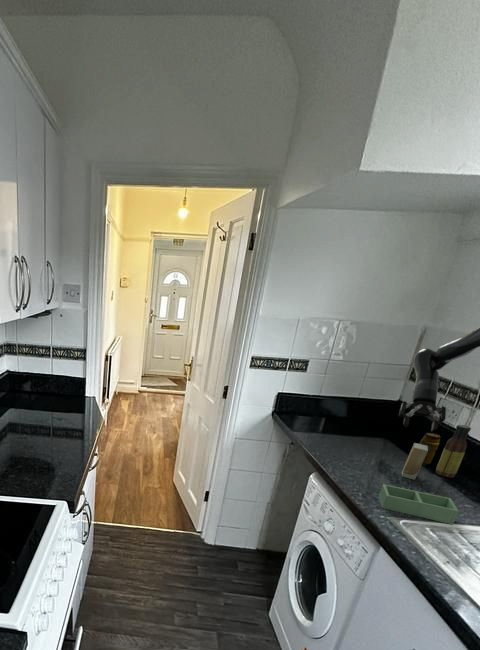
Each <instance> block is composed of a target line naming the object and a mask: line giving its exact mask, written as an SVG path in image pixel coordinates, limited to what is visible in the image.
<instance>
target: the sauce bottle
mask: <svg viewBox="0 0 480 650" xmlns="http://www.w3.org/2000/svg"><path fill="white" fill-rule="evenodd" d="M455 428H456V429H455V432H454V434H453V436H452V437H451V438H448V440H446V441H447V442H445V443H446V444H445V446H444V448H443V451H442V453H441V455H440V458H439V461H438V463H437V465H436V468H435V474H437V475H439V476H441V477H444V478H449V479H452V478H454V477H455V476H456V474H457V473H458V470H459V468H460V466H461V464H462V461H463V458H464V457H465V453H466V450H467V448H468V443H467V438H468V435H469V433H470V431H471V430H472V427H471V426H469V425H465V424H457V425H456V426H455Z"/></svg>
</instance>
